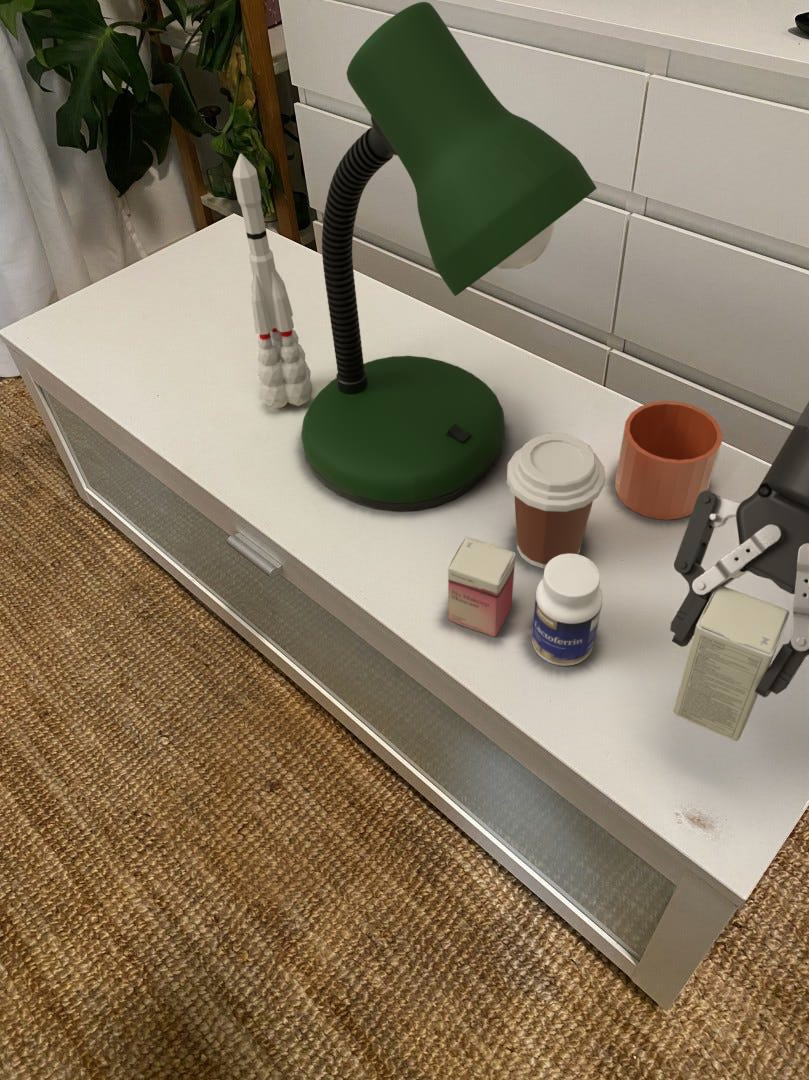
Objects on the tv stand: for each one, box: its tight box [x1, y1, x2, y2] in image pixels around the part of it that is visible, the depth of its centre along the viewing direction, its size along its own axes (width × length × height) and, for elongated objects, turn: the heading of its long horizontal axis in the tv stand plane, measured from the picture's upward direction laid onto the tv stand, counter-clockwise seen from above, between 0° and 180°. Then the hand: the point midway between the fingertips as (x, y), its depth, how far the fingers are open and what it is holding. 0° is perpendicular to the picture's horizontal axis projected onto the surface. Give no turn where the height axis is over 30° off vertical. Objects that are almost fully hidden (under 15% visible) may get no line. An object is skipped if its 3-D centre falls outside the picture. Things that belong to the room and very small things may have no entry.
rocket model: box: [232, 153, 313, 410], centre depth 94 cm, size 7×7×30 cm
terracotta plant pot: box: [614, 400, 723, 521], centre depth 89 cm, size 9×9×8 cm
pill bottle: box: [531, 554, 603, 667], centre depth 76 cm, size 6×6×10 cm
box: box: [672, 585, 790, 742], centre depth 61 cm, size 5×4×11 cm
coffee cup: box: [506, 433, 606, 569], centre depth 83 cm, size 9×9×12 cm
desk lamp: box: [300, 1, 598, 512], centre depth 81 cm, size 31×23×45 cm
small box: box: [447, 536, 517, 637], centre depth 79 cm, size 5×4×8 cm
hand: (720, 667), depth 59 cm, fingers closed on box, 5 cm apart
